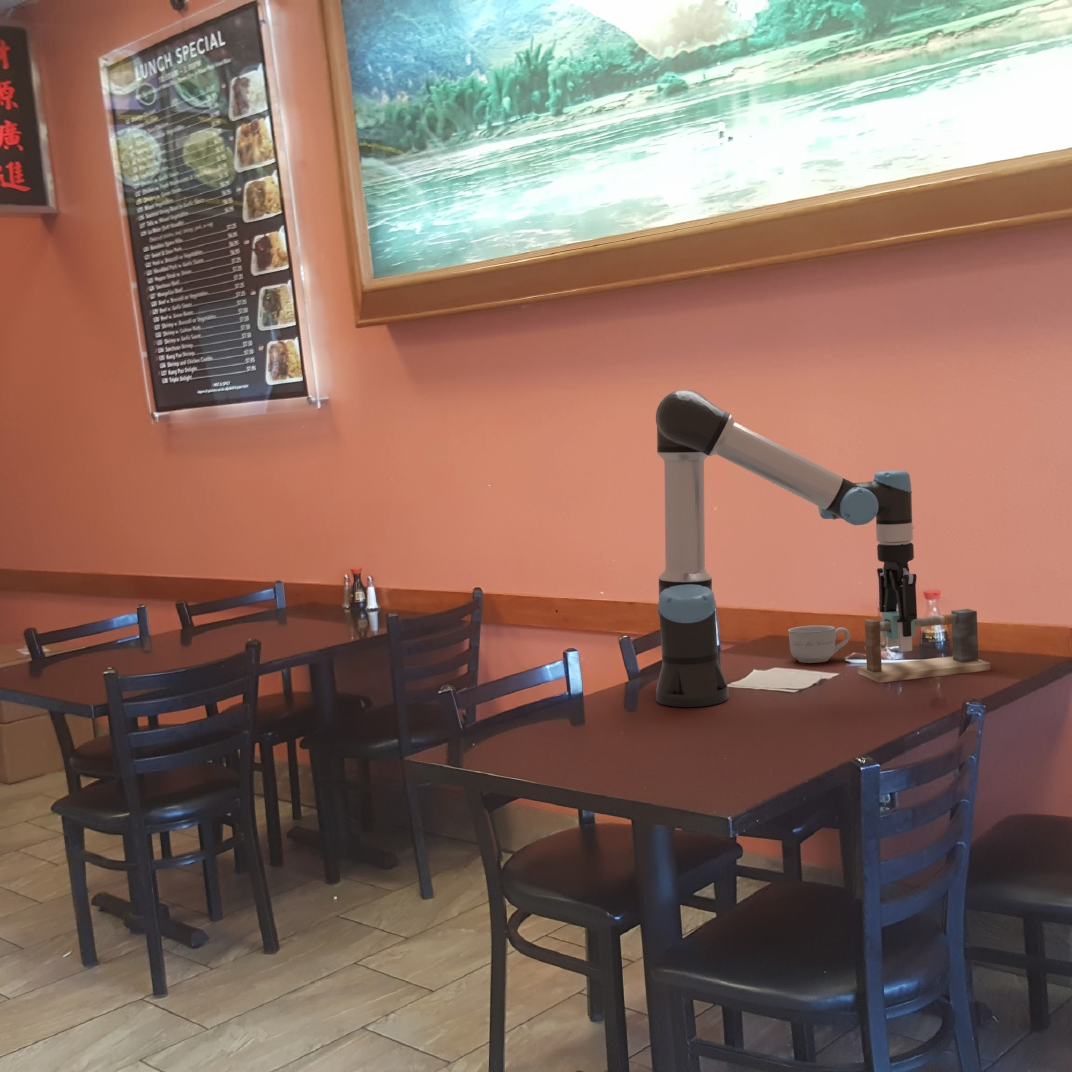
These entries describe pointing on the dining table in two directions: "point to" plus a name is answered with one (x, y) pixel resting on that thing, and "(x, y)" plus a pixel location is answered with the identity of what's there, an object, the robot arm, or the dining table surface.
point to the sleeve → (894, 624)
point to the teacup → (815, 642)
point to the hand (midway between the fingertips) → (899, 648)
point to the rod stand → (956, 664)
